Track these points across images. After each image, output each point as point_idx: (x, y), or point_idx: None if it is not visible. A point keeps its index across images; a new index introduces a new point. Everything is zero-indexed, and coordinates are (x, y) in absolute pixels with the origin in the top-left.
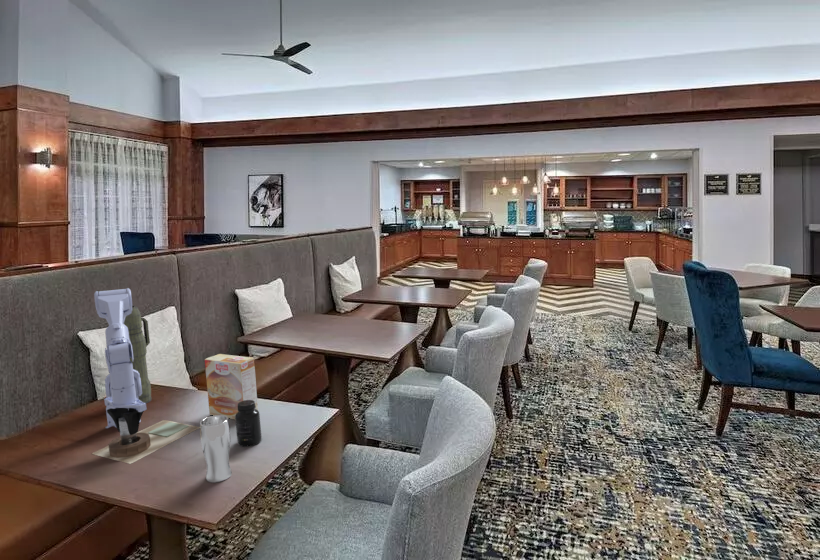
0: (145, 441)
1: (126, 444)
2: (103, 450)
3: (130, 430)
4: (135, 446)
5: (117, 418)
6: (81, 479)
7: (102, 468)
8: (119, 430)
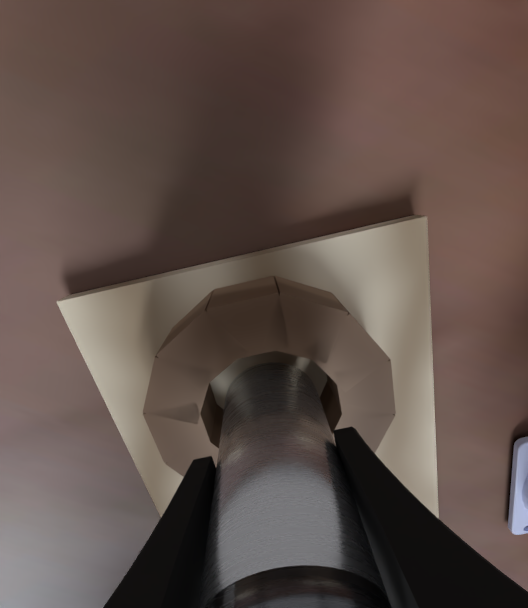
0: (164, 460)
1: (237, 381)
2: (394, 282)
3: (173, 497)
4: (145, 401)
5: (404, 586)
6: (141, 23)
7: (195, 189)
8: (337, 441)
